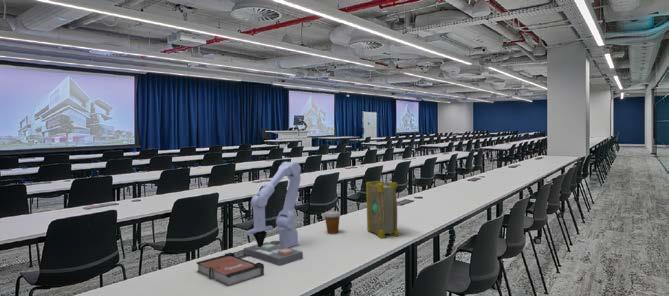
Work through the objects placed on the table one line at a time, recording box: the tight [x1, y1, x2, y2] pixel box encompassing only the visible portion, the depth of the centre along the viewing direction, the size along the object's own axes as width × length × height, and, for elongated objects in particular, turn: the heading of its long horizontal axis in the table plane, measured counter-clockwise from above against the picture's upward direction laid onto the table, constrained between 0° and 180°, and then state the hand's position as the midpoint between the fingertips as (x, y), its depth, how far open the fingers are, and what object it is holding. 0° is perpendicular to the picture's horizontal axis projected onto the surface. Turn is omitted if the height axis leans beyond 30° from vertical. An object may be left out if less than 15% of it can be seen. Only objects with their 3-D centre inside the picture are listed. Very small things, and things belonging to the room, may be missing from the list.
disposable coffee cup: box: [324, 210, 341, 235], centre depth 243 cm, size 10×10×12 cm
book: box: [196, 252, 265, 287], centre depth 177 cm, size 26×18×5 cm
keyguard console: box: [243, 242, 304, 267], centre depth 200 cm, size 14×28×3 cm, turn 46°
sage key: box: [261, 243, 276, 251], centre depth 202 cm, size 5×5×2 cm
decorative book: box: [365, 180, 400, 239], centre depth 236 cm, size 20×11×30 cm, turn 21°
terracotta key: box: [278, 248, 293, 256], centre depth 193 cm, size 5×5×2 cm
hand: (260, 246), depth 207 cm, fingers closed, pressing on sand key
